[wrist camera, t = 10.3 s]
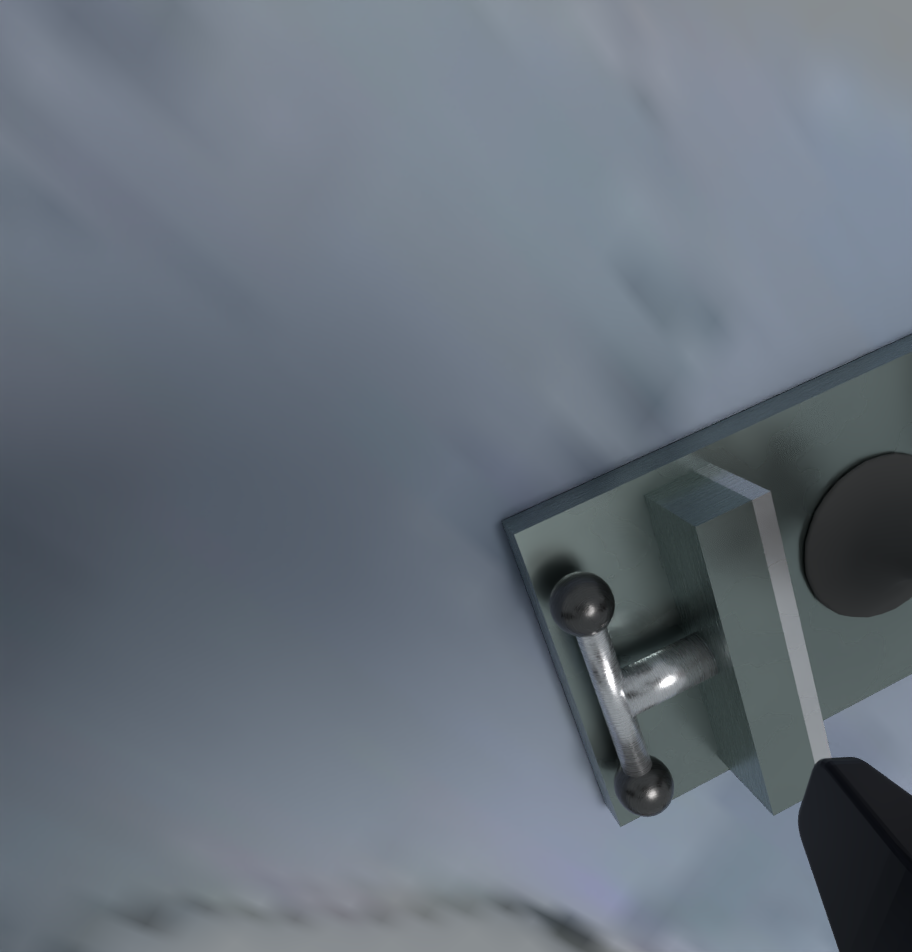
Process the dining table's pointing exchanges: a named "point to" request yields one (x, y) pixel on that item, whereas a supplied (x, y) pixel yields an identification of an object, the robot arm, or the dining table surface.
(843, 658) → the vise
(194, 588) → the dining table surface
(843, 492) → the sundae
